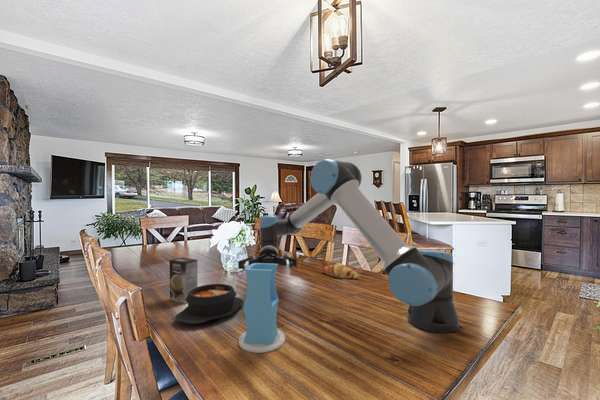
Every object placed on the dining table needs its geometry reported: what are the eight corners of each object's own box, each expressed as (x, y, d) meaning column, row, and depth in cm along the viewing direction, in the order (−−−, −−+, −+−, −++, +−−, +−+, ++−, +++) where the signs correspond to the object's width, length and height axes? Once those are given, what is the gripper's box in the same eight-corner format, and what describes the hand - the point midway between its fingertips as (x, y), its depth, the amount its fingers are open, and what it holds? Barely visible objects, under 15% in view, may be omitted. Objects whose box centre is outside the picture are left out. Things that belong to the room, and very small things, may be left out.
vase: (272, 345, 76) (271, 270, 76) (243, 343, 77) (243, 269, 77) (278, 331, 84) (278, 263, 84) (253, 329, 85) (252, 262, 85)
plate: (294, 343, 79) (293, 340, 79) (250, 358, 71) (250, 354, 71) (271, 325, 90) (271, 323, 90) (231, 337, 82) (231, 334, 82)
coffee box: (169, 300, 112) (168, 259, 112) (182, 295, 118) (182, 256, 118) (185, 304, 108) (184, 262, 108) (198, 299, 114) (197, 258, 114)
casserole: (218, 298, 115) (218, 277, 115) (255, 306, 106) (255, 284, 106) (162, 322, 93) (161, 296, 93) (201, 335, 84) (201, 306, 84)
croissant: (361, 285, 142) (364, 269, 145) (353, 280, 135) (357, 263, 137) (324, 277, 154) (328, 263, 157) (315, 272, 147) (319, 257, 150)
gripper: (300, 264, 114) (305, 278, 93) (237, 267, 112) (227, 282, 90) (300, 245, 114) (305, 255, 93) (236, 247, 112) (227, 258, 90)
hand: (267, 268), depth 91 cm, fingers open, 13 cm apart
